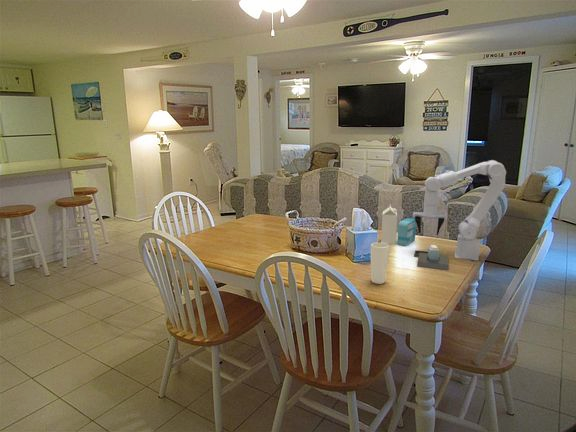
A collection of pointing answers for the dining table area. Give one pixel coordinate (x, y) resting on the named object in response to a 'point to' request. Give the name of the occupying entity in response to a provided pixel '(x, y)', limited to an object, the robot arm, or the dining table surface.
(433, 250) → the plug
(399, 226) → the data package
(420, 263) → the port block
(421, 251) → the square shadow box
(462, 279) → the dining table surface
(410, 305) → the dining table surface
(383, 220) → the milk carton
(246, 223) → the dining table surface
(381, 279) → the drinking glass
